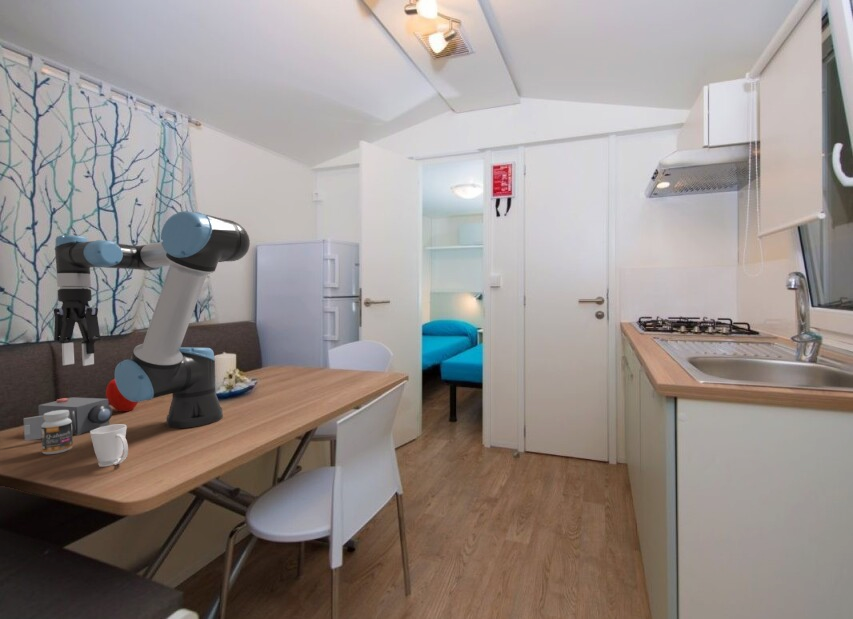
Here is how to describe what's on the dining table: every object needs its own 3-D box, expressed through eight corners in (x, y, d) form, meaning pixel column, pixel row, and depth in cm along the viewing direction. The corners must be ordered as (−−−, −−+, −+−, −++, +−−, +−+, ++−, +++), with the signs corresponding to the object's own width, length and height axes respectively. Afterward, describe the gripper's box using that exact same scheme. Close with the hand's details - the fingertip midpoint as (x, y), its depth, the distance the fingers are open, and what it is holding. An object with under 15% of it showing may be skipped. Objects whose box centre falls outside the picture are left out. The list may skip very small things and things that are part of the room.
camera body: (116, 425, 120) (115, 396, 119) (84, 435, 111) (83, 405, 110) (73, 422, 123) (71, 395, 123) (38, 432, 114) (37, 403, 114)
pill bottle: (46, 457, 96) (44, 416, 96) (39, 452, 99) (37, 413, 99) (76, 449, 101) (74, 410, 100) (68, 445, 104) (66, 407, 103)
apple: (98, 414, 132) (96, 378, 131) (126, 406, 141) (125, 372, 141) (122, 415, 130) (120, 379, 129) (149, 407, 139) (148, 373, 139)
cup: (117, 454, 96) (116, 422, 96) (143, 460, 92) (142, 427, 92) (83, 466, 90) (81, 431, 90) (109, 473, 86) (108, 437, 86)
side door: (75, 432, 111) (74, 410, 111) (75, 433, 110) (74, 411, 110) (25, 440, 105) (24, 417, 105) (24, 442, 104) (23, 418, 104)
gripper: (113, 287, 119) (117, 362, 120) (62, 289, 123) (66, 362, 124) (87, 287, 112) (91, 367, 112) (34, 288, 116) (38, 366, 116)
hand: (78, 364), depth 118 cm, fingers open, 7 cm apart
